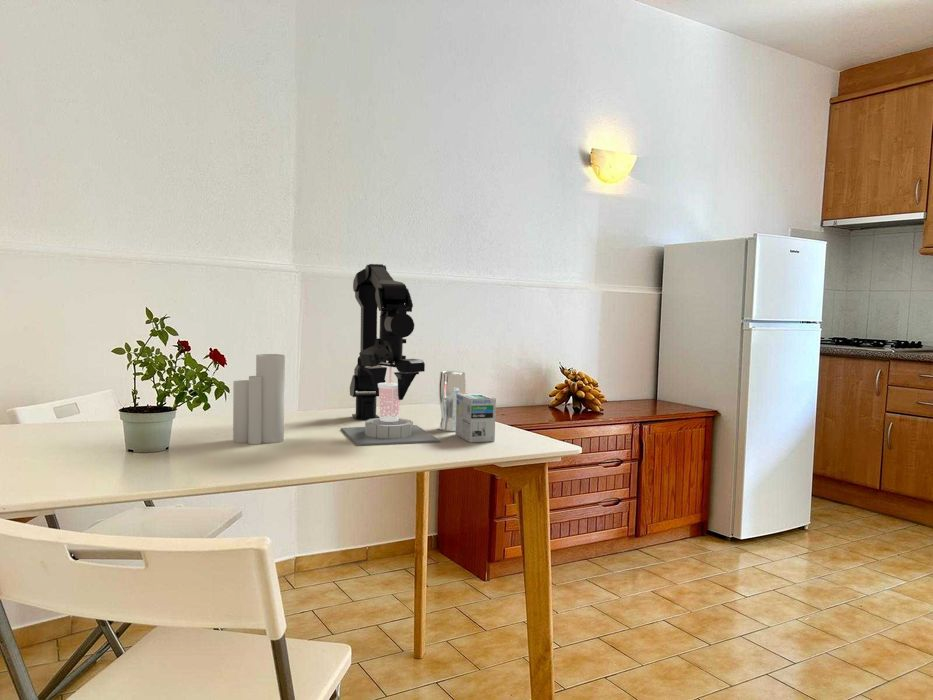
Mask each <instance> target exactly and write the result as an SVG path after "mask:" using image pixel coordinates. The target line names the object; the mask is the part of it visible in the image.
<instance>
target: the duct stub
mask: <svg viewBox="0 0 933 700" xmlns="http://www.w3.org/2000/svg"><path fill="white" fill-rule="evenodd" d="M340 430H341V431H342V432H343V434H345V435H346V436H347V437H348V438H349V439H350V440H351V442H353V443H354V444H355V445H356V446H357V447H358V446H362V447H363V446H380V445H381V446H382V445H383V446H385V445H387V446H388V445H405V444H406V445H407V444H425V443H426V444H427V443H428V444H429V443H430V444H431V443H440V442H441V439H439V438H438V437H436V436H435V435H433V434H431V433H429V432H428V431H426V430H424V429H423V428H421V427H420V426H418V425H416V424H414V422H413V421H412V420H411V419H407V418H403V417H402V418H401V417H399V420H398V421H395V422H385V421H381V420H380V418H374V419H366V420H365V422H364V426H356V427H355V426H353V427H352V426H351V427H349V426H348V427H340Z"/></svg>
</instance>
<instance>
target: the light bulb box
mask: <svg viewBox="0 0 933 700" xmlns="http://www.w3.org/2000/svg"><path fill="white" fill-rule="evenodd" d="M496 400H497V398H495V397H491V396H489V395H486V394H483V393H480V392H465V393H456V431H455V432H454V433H455V436H458V437H460V438H461V439H463V440H465V441H466V442H469V443H483V442H484V443H489V442H495V439H496V405H497V402H496Z"/></svg>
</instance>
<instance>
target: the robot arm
mask: <svg viewBox="0 0 933 700" xmlns="http://www.w3.org/2000/svg"><path fill="white" fill-rule="evenodd" d="M352 289H353V290H352V291H353V292H354V297H355V299H356V301H357V303H358V305H359V306H360V346H359V347H360V348H359V349H360V350H359V351H360V352H359V353H358V354H359V356H358V357H357V364H356V366H355V367H354V370H353V371H354V372H353V374H354V375H353V374H352V377H351V381H350V385H349V396H351V397H352V398H355V413H352V417H353V418H354V419H355V420H369V419H374V418H380V415H378V414H377V397H379V388H378V383H386V374H387V370H388V367H389V368H390V367H391V368H396V370H397V372H393V374H394V376H395V377H396V378H397V383H398V399H399V400H400V401H402V400H404V398H405V396H406V394H407V392H408V389H409V388H410V387H411V384H412V382H413V381H414V379H415V378H416V376H417V375H419V374H420V373H421V372H425V369H426V367H425V366H426V364H425V362H424V360H423V359H417V358H407V356H406V355H404V354H403V349H404V347H403V346H404V345H403V344H407V337H409V336H411V334H412V333H414V332H413V331H415V322H414V319H413V318H412V316H411V315H409V314H408V313H409V312H410V313H412V311H413V310H412V309H413V307H414V305H413V301H412V297H411V293H410V291H409V288H407V286H406V284H405V283H403V282H402V281H398V280H395V279H394V278H393V277H392V276H391V275H390V272H389V271H388V270H387V266H386V265H384V264H382V263H379V264H378V263H369V264H366V266H365V268H364V269H361V270H360V271H358V272H356V274H355V277H353V282H352ZM378 311H379V312H380V314H379V338H378Z"/></svg>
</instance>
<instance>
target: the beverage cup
mask: <svg viewBox="0 0 933 700" xmlns="http://www.w3.org/2000/svg"><path fill="white" fill-rule="evenodd" d="M388 377H389V379H388V382H386V381H385V383H378V388H379V396H378V401H379V402H378V403H379V417H380V420H381V421H385V422H395V421H398V420H399V418H400V406H401V400H399V399H398V382H392V367H389V376H388Z"/></svg>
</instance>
